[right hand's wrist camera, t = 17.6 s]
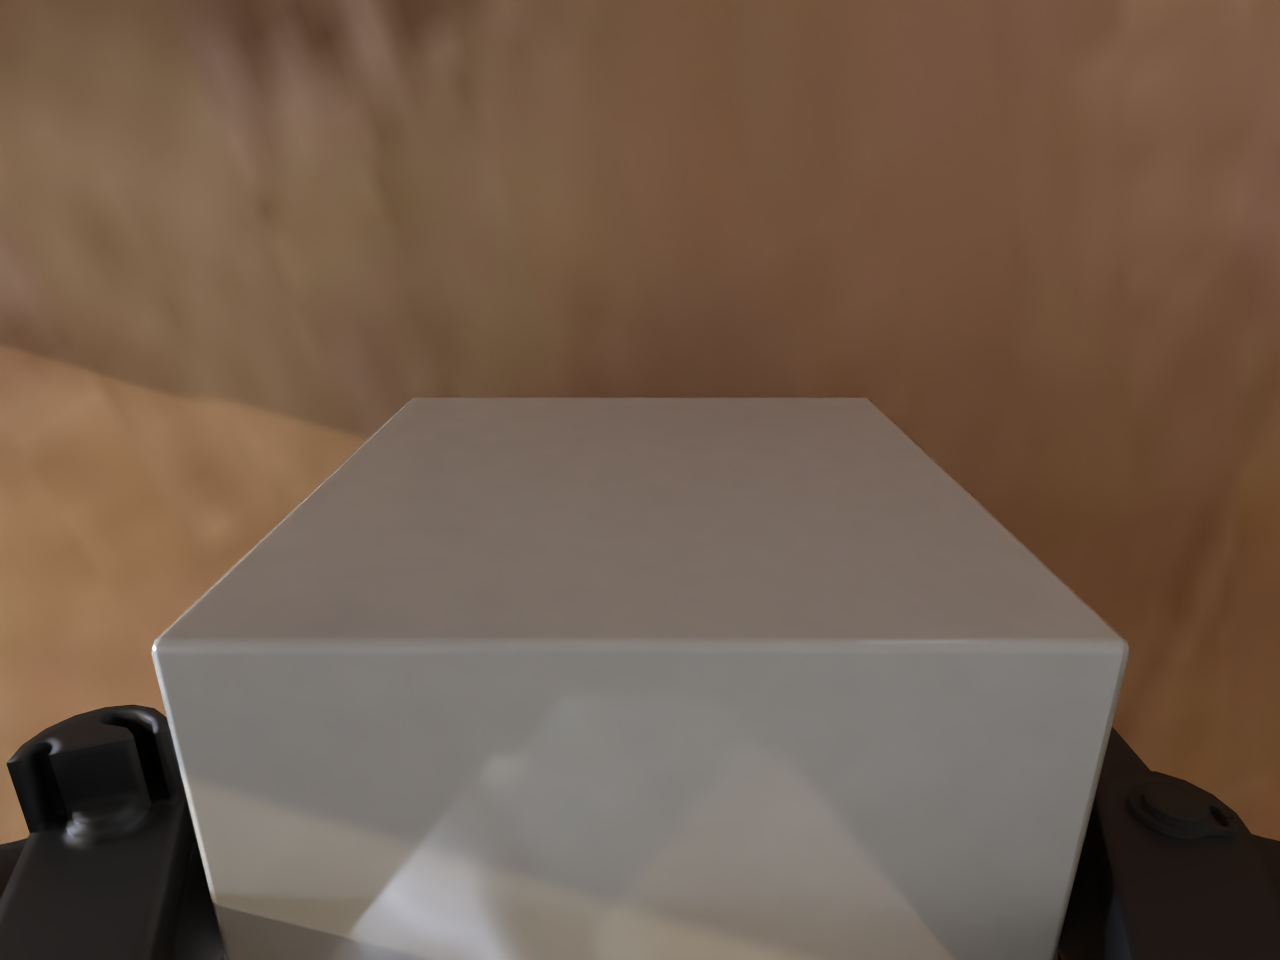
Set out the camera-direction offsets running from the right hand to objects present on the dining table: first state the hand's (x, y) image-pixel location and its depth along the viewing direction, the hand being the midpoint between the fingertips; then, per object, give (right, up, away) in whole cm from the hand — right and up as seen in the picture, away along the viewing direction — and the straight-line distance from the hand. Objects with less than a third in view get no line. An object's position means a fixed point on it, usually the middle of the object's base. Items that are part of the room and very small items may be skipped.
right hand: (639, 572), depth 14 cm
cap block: (0, 0, -1) cm, 1 cm away
